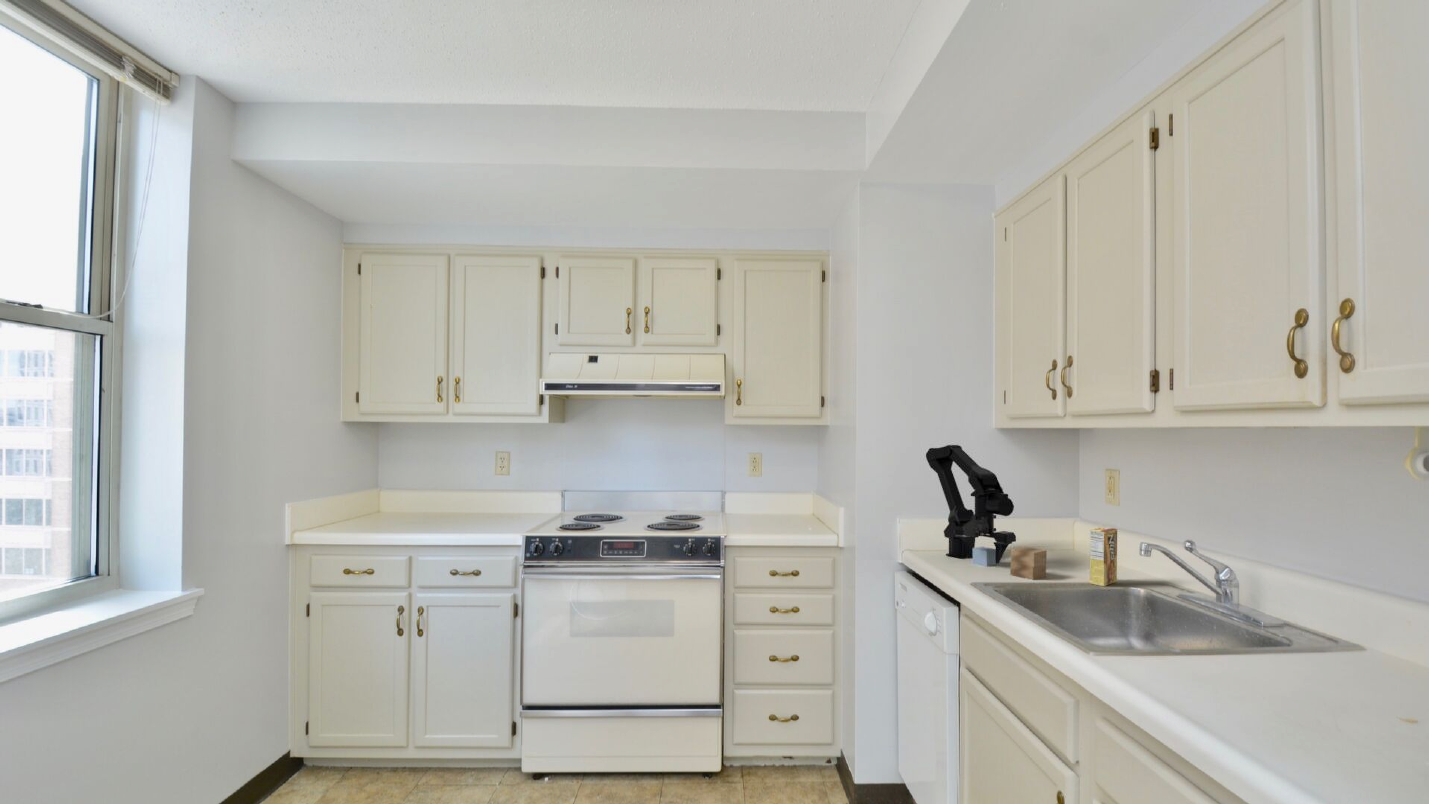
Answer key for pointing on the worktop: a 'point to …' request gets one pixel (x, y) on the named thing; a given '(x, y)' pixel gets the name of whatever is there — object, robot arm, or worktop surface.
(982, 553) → the blue block
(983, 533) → the robot arm
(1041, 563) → the tower top
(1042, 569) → the tower base
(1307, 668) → the worktop surface
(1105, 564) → the candy box
